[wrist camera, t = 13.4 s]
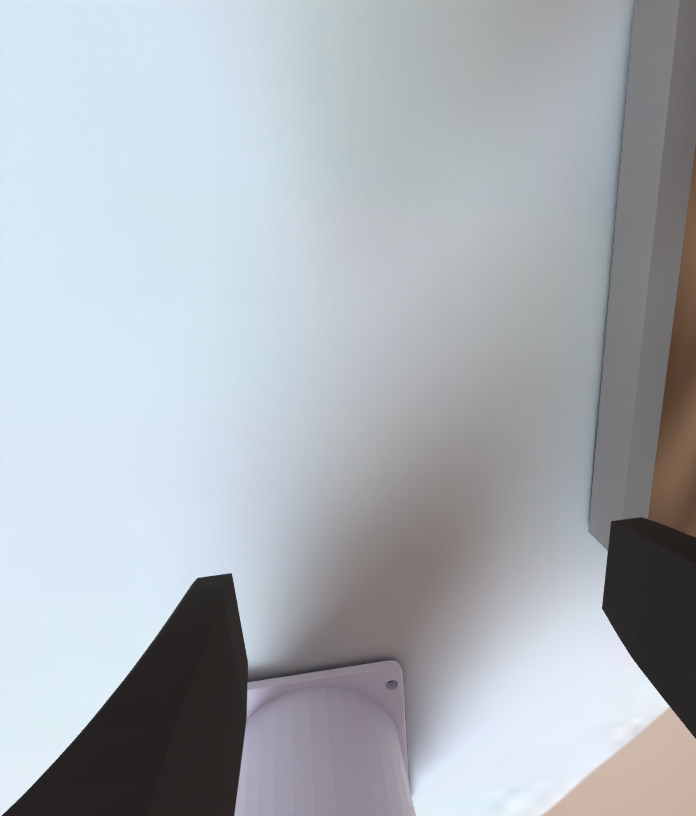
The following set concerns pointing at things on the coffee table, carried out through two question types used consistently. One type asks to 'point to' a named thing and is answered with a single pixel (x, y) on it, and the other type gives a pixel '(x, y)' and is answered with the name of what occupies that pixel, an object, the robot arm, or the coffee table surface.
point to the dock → (645, 257)
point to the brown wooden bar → (679, 399)
